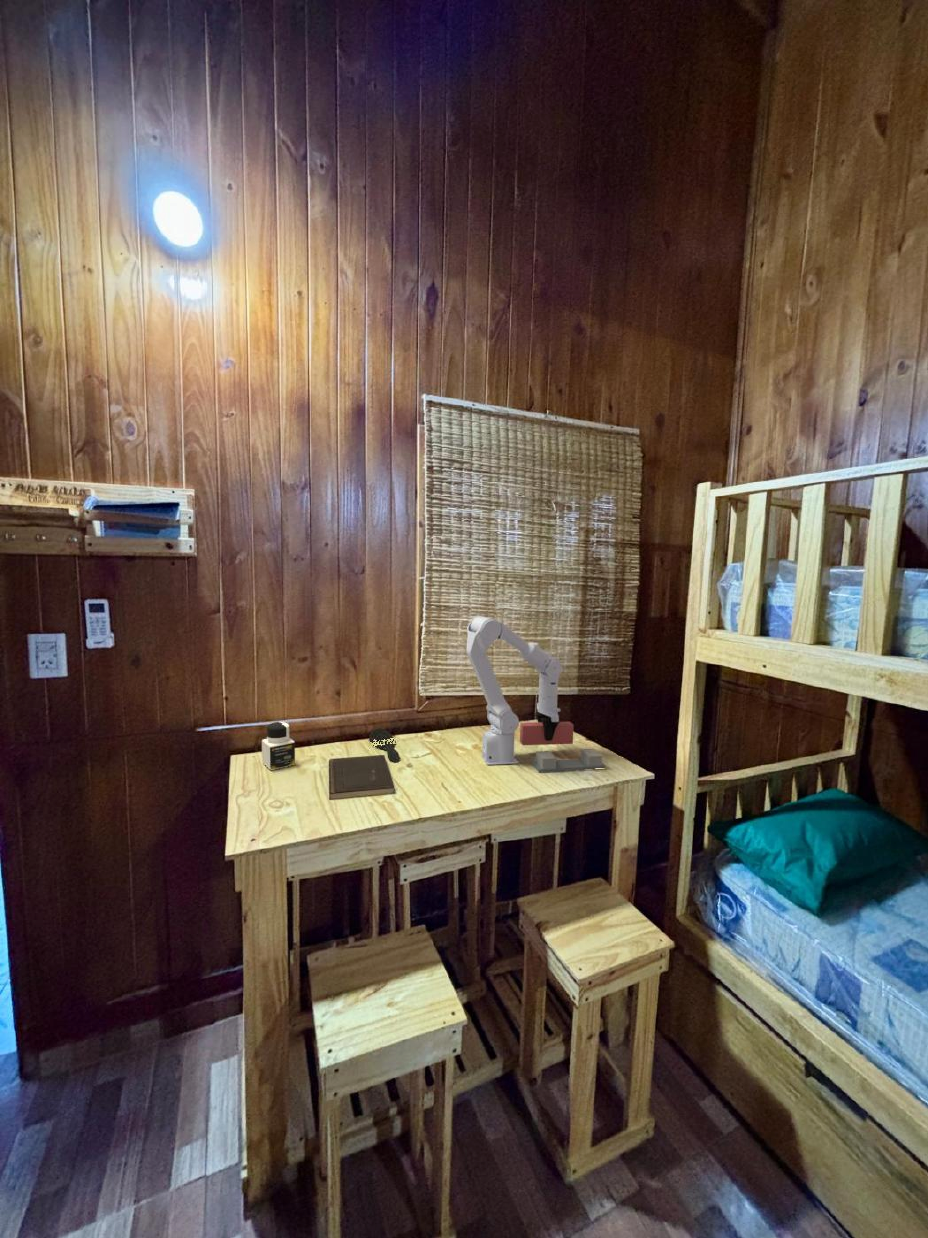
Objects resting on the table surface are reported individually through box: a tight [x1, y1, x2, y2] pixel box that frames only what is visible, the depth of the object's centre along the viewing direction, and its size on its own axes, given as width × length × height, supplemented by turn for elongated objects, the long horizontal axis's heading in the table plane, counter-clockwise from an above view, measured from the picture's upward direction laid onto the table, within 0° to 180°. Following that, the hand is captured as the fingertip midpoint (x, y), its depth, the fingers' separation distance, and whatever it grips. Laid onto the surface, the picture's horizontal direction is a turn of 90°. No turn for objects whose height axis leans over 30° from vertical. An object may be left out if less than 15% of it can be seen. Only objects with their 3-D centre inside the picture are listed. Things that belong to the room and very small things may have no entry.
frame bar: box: [519, 721, 575, 746], centre depth 159 cm, size 16×4×6 cm, turn 98°
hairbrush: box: [368, 726, 401, 764], centre depth 162 cm, size 8×4×25 cm
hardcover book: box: [328, 754, 395, 800], centre depth 139 cm, size 16×23×2 cm
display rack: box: [531, 748, 606, 773], centre depth 149 cm, size 20×6×4 cm, turn 100°
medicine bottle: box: [261, 721, 296, 771], centre depth 147 cm, size 7×7×12 cm
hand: (546, 738), depth 159 cm, fingers closed on frame bar, 4 cm apart
